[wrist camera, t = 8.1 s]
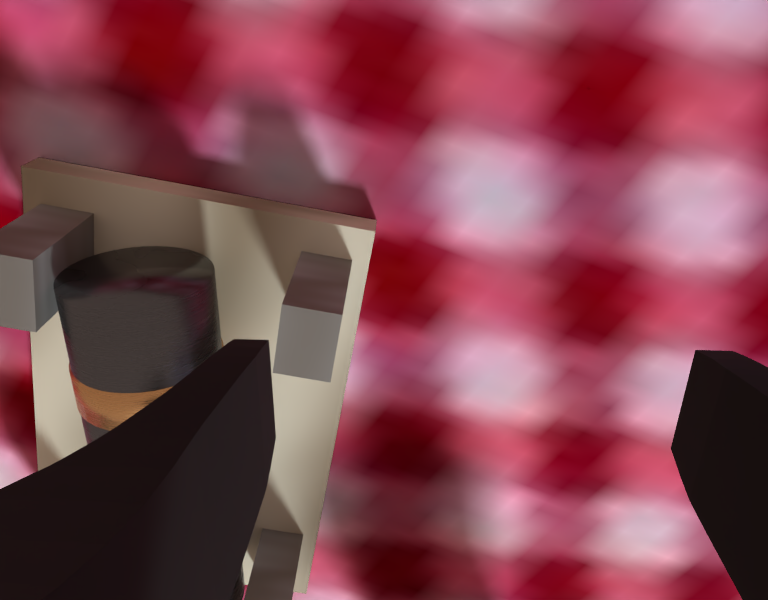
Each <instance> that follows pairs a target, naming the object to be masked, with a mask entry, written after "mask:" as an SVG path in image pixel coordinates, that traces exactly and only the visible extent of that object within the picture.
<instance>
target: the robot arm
mask: <svg viewBox="0 0 768 600" xmlns="http://www.w3.org/2000/svg"><path fill="white" fill-rule="evenodd" d="M275 440H276V431H275V417H274V403H273V389H272V376H271V362H270V348H269V340H254V339H233V340H231V341H230V342H229V343H227V344H226V345H225V346H223V347H222V348H221V349H219V350H218V351H217V352H216V353H214V354H213V355H212V356H211V357H210V358H208V359H207V360H206V361H205V362H203V363H202V364H201V365H200V366H198V367H197V368H196V369H195V370H193V371H192V372H191V373H190V374H188V375H187V376H186V377H184V378H183V379H182V380H181V381H179V382H178V383H177V384H176V385H174V386H173V387H172V388H170V389H169V390H168V391H167V392H165V393H164V394H163V395H161V396H160V397H158V398H157V399H155V400H154V401H153V402H151V403H150V404H148V405H147V406H145V407H144V408H143V409H141V410H140V411H138V412H137V413H135V414H134V415H133V416H131V417H130V418H128V419H127V420H125V421H124V422H123V423H121V424H120V425H118V426H117V427H115V428H114V429H112V430H111V431H109V432H107V433H106V434H104V435H103V436H101V437H99V438H98V439H96V440H94V441H93V442H91V443H89V444H87V445H86V446H84V447H82V448H80V449H79V450H77V451H75V452H73V453H72V454H70V455H68V456H66V457H65V458H63V459H61V460H59V461H57V462H55V463H53V464H52V465H50V466H48V467H45V468H43V469H41V470H39V471H37V472H35V473H33V474H31V475H29V476H27V477H25V478H23V479H20V480H18V481H16V482H14V483H12V484H10V485H8V486H6V487H4V488H2V489H0V600H230V599H231V596H232V593H233V590H234V587H235V584H236V581H237V578H238V575H239V572H240V568H241V565H242V562H243V559H244V556H245V553H246V550H247V547H248V544H249V541H250V538H251V535H252V532H253V529H254V526H255V523H256V520H257V517H258V514H259V511H260V507H261V504H262V501H263V498H264V495H265V492H266V488H267V484H268V478H269V473H270V468H271V463H272V457H273V452H274V446H275ZM671 450H672V453H673V456H674V459H675V462H676V465H677V468H678V471H679V473H680V476H681V479H682V482H683V484H684V487H685V490H686V492H687V495H688V497H689V500H690V502H691V504H692V506H693V508H694V510H695V512H696V514H697V516H698V518H699V519H700V521H701V523H702V525H703V527H704V529H705V531H706V533H707V535H708V536H709V538H710V540H711V542H712V544H713V546H714V548H715V550H716V551H717V553H718V555H719V557H720V559H721V561H722V562H723V564H724V566H725V568H726V570H727V572H728V574H729V575H730V577H731V579H732V581H733V583H734V585H735V586H736V588H737V590H738V592H739V594H740V596H741V598H742V599H743V600H768V367H766V366H764V365H762V364H760V363H758V362H756V361H754V360H752V359H750V358H748V357H746V356H743V355H741V354H738V353H736V352H734V351H711V350H695V354H694V358H693V362H692V366H691V370H690V374H689V378H688V382H687V386H686V390H685V394H684V398H683V402H682V406H681V410H680V414H679V418H678V422H677V426H676V430H675V434H674V438H673V442H672V446H671Z"/></svg>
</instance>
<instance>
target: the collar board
mask: <svg viewBox="0 0 768 600" xmlns="http://www.w3.org/2000/svg"><path fill="white" fill-rule="evenodd" d="M21 174H22V192H23V210H24V214H23V215H22V216H20V217H19V218H17V219H15V220H14V221H12V222H11V223H9V224H7V225H6V226H4V227H3V228H1V229H0V326H2V327H8V328H14V329H19V330H25V331H30V336H31V354H32V372H33V390H34V408H35V426H36V444H37V462H38V471H39V470H41V469H43V468H45V467H48V466H50V465H52V464H53V463H55V462H57V461H59V460H61V459H63V458H65V457H66V456H68V455H70V454H72V453H73V452H75V451H77V450H79V449H80V448H82V447H84V446H86V445H87V441H86V437H85V432H84V427H83V423H82V418H81V415H80V413H79V411H78V408H77V405H76V400H75V395H74V391H73V386H72V382H71V377H70V372H69V358H68V353H67V348H66V344H65V339H64V334H63V330H62V325H61V321H60V316H59V311H58V307H57V302H56V297H55V293H54V287H53V284H54V280H55V279H56V277H57V276H58V275H59V274H60V272H62V271H63V270H64V269H65V268H67V267H69V266H70V265H72V264H74V263H76V262H78V261H80V260H82V259H85V258H87V257H90V256H93V255H96V254H100V253H104V252H108V251H112V250H118V249H124V248H131V247H142V246H167V247H177V248H183V249H188V250H192V251H195V252H198V253H200V254H202V255H204V256H206V257H207V258H209V259H210V260H211V261H212V263H213V264H214V268H215V278H216V289H217V299H218V310H219V320H220V331H221V338H222V340H223V344H224V346H225V345H226V344H227V343H229V342H230V341H231V340H233V339H254V340H269V348H270V362H271V376H272V389H273V403H274V417H275V431H276V440H275V446H274V452H273V457H272V463H271V468H270V473H269V478H268V484H267V488H266V492H265V495H264V498H263V501H262V504H261V507H260V511H259V514H258V517H257V520H256V523H255V526H254V529H253V532H252V535H251V538H250V541H249V544H248V547H247V550H246V553H245V556H244V559H243V572H244V582H245V584H246V585H248V587H247V591H246V595H245V598H244V600H292V596H293V592H298V593H305V594H306V592H307V586H308V581H309V576H310V571H311V565H312V560H313V555H314V550H315V545H316V539H317V534H318V529H319V524H320V518H321V513H322V508H323V503H324V497H325V492H326V487H327V482H328V476H329V471H330V466H331V461H332V456H333V450H334V445H335V440H336V435H337V429H338V424H339V419H340V414H341V408H342V403H343V398H344V393H345V387H346V382H347V377H348V372H349V367H350V361H351V356H352V351H353V346H354V340H355V335H356V330H357V325H358V319H359V314H360V309H361V304H362V298H363V293H364V288H365V283H366V278H367V272H368V267H369V262H370V257H371V251H372V246H373V241H374V236H375V230H376V221H377V220H373V219H368V218H362V217H357V216H351V215H346V214H341V213H335V212H330V211H324V210H319V209H314V208H308V207H303V206H298V205H292V204H287V203H281V202H276V201H271V200H265V199H260V198H254V197H249V196H244V195H238V194H233V193H228V192H222V191H217V190H211V189H206V188H201V187H195V186H190V185H184V184H179V183H174V182H168V181H163V180H157V179H152V178H147V177H141V176H136V175H131V174H125V173H120V172H114V171H109V170H104V169H98V168H93V167H87V166H82V165H77V164H71V163H66V162H61V161H55V160H50V159H44V158H37V159H35V160H33V161H31V162H29V163H27V164H25V165H23V166H21Z"/></svg>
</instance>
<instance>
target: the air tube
mask: <svg viewBox="0 0 768 600" xmlns="http://www.w3.org/2000/svg"><path fill="white" fill-rule="evenodd" d="M53 287H54V293H55V297H56V302H57V307H58V311H59V316H60V321H61V325H62V330H63V334H64V339H65V344H66V348H67V353H68V358H69V372H70V377H71V382H72V386H73V391H74V395H75V400H76V405H77V408H78V411H79V413H80V415H81V418H82V423H83V427H84V432H85V437H86V441H87V444H89V443H91V442H93V441H94V440H96V439H98V438H99V437H101V436H103V435H104V434H106V433H107V432H109V431H111V430H112V429H114V428H115V427H117V426H118V425H120V424H121V423H123V422H124V421H125V420H127V419H128V418H130V417H131V416H133V415H134V414H135V413H137V412H138V411H140V410H141V409H143V408H144V407H145V406H147V405H148V404H150V403H151V402H153V401H154V400H155V399H157V398H158V397H160V396H161V395H163V394H164V393H165V392H167V391H168V390H169V389H170V388H172V387H173V386H174V385H176V384H177V383H178V382H179V381H181V380H182V379H183V378H184V377H186V376H187V375H188V374H190V373H191V372H192V371H193V370H195V369H196V368H197V367H198V366H200V365H201V364H202V363H203V362H205V361H206V360H207V359H208V358H210V357H211V356H212V355H213V354H214V353H216V352H217V351H218V350H219V349H221V348H222V347H223V346H224V344H223V340H222V338H221V331H220V320H219V310H218V299H217V289H216V278H215V268H214V264H213V263H212V261H211V260H210V259H209V258H207V257H206V256H204V255H202V254H200V253H198V252H195V251H192V250H188V249H183V248H177V247H167V246H142V247H131V248H124V249H118V250H112V251H108V252H104V253H100V254H96V255H93V256H90V257H87V258H85V259H82V260H80V261H78V262H76V263H74V264H72V265H70V266H69V267H67V268H65V269H64V270H63V271H62V272H60V274H59V275H58V276H57V277H56V279H55V280H54V284H53ZM244 586H245V582H244V572H243V562H242V565H241V568H240V572H239V575H238V578H237V581H236V584H235V587H234V590H233V593H232V596H231V599H230V600H242V598H243V595H244Z"/></svg>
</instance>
